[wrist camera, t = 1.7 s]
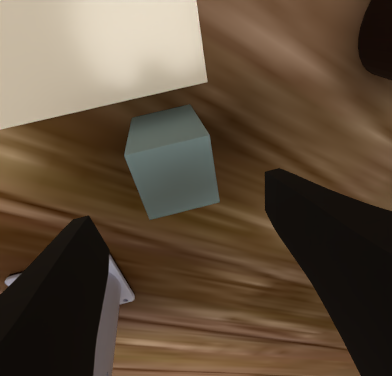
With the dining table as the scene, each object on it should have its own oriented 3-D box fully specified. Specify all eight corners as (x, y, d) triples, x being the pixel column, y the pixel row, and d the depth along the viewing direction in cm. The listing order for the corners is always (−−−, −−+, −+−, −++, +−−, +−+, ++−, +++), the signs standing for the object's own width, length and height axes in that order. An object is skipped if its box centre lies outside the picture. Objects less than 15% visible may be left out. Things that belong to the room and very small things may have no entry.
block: (149, 168, 17) (149, 219, 13) (131, 117, 15) (124, 155, 10) (199, 156, 18) (219, 202, 13) (189, 104, 15) (209, 134, 10)
